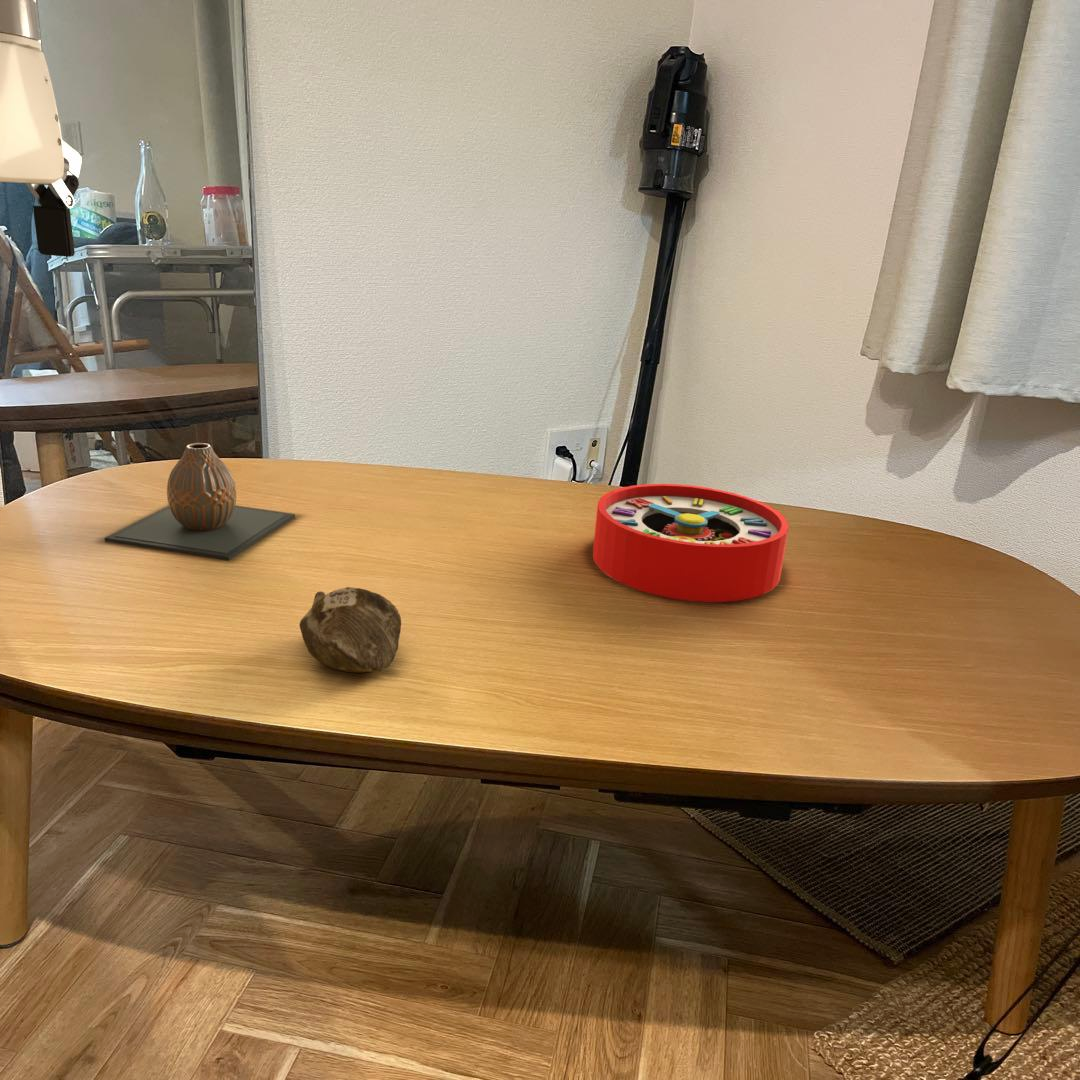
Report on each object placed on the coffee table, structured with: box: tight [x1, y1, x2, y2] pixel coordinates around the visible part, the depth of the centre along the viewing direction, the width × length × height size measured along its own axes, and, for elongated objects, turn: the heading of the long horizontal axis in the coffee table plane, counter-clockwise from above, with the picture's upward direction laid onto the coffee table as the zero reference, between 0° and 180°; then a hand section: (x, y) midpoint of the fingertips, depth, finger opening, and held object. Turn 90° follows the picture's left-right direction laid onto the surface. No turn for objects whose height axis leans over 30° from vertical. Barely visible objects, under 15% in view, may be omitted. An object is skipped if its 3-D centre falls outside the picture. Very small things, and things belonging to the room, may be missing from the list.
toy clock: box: [592, 483, 790, 603], centre depth 96 cm, size 20×6×20 cm
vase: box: [166, 442, 237, 531], centre depth 95 cm, size 7×7×9 cm
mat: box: [104, 505, 296, 561], centre depth 97 cm, size 14×14×1 cm
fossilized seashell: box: [299, 586, 402, 674], centre depth 72 cm, size 8×7×10 cm
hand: (14, 257), depth 74 cm, fingers open, 9 cm apart
